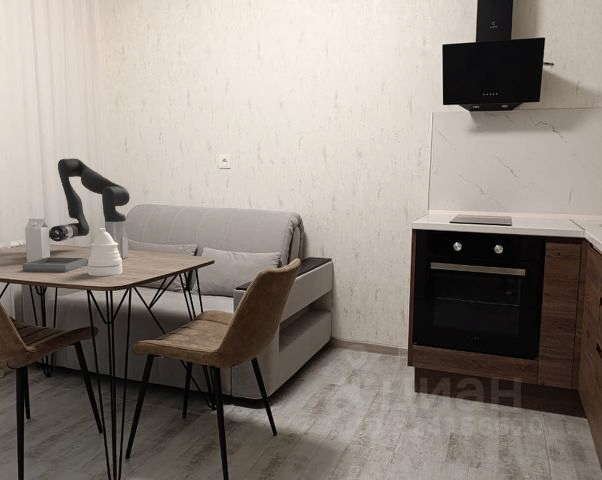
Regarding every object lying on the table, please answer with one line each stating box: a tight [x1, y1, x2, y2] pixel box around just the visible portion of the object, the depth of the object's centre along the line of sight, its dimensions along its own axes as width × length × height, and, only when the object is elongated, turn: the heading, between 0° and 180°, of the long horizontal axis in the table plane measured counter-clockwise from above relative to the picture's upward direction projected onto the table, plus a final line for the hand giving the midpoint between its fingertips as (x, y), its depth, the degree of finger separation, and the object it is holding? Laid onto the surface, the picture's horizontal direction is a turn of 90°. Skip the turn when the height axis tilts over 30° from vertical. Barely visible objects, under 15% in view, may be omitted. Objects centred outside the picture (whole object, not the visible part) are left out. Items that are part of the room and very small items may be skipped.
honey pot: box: [87, 227, 123, 277], centre depth 219 cm, size 13×13×18 cm
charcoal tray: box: [22, 256, 88, 273], centre depth 230 cm, size 18×18×3 cm
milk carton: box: [24, 218, 51, 263], centre depth 247 cm, size 7×7×19 cm
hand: (42, 236), depth 251 cm, fingers open, 8 cm apart
